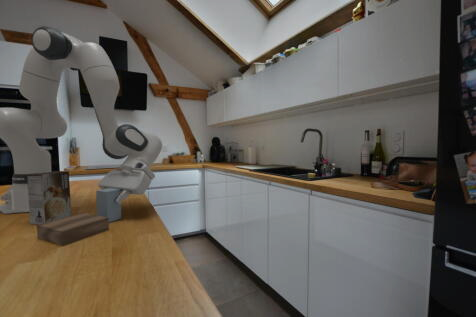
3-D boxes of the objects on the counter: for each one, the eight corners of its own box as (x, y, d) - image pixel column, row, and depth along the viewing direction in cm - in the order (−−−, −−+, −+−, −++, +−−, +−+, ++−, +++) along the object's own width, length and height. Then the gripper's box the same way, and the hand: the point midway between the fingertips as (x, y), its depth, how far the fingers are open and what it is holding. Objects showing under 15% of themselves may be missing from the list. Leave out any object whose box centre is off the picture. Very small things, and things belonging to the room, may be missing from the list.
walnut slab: (37, 239, 61) (36, 224, 61) (83, 225, 72) (83, 212, 72) (63, 247, 56) (62, 231, 56) (108, 231, 67) (108, 217, 67)
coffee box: (57, 215, 81) (55, 170, 80) (72, 216, 80) (70, 171, 79) (28, 224, 72) (26, 173, 71) (45, 225, 71) (42, 174, 70)
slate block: (97, 220, 75) (96, 190, 74) (111, 216, 79) (110, 188, 79) (107, 222, 72) (106, 191, 72) (121, 218, 77) (120, 189, 76)
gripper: (109, 163, 86) (83, 193, 78) (149, 165, 78) (125, 199, 69) (119, 173, 91) (96, 203, 82) (158, 176, 82) (137, 210, 74)
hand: (109, 201), depth 76 cm, fingers closed on slate block, 5 cm apart
